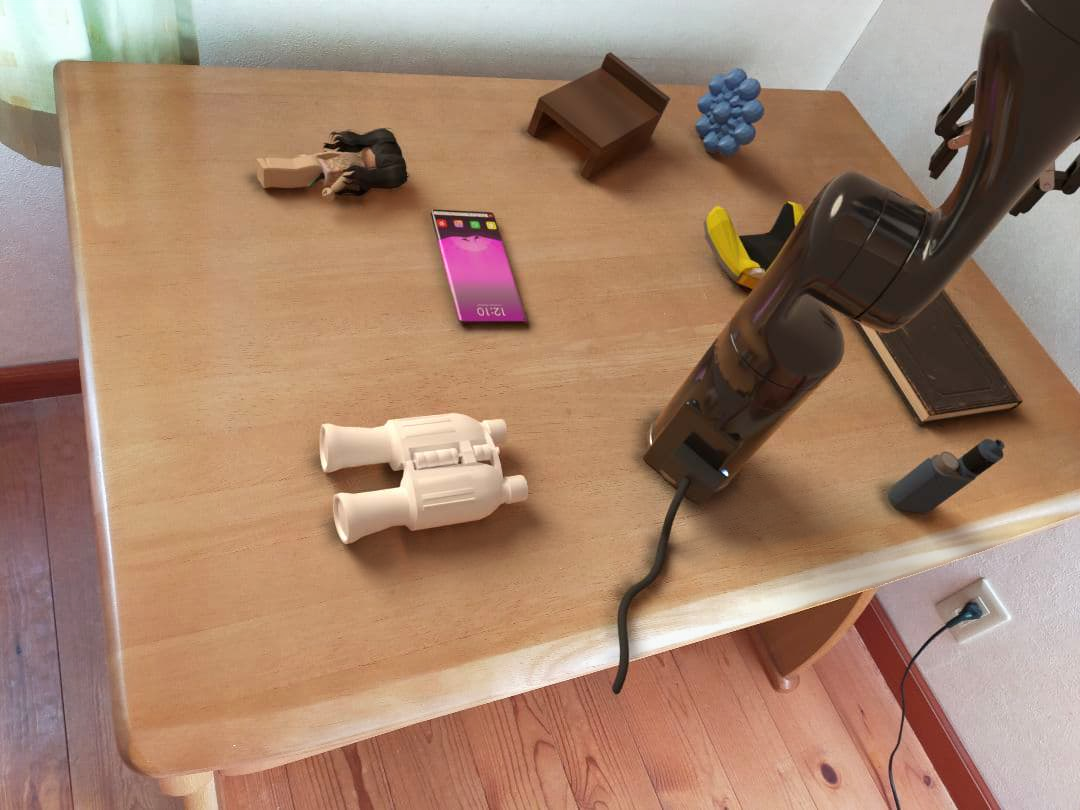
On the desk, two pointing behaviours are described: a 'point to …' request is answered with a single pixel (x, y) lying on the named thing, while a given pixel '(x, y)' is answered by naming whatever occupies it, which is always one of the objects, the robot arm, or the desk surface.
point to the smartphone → (477, 267)
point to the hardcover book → (941, 366)
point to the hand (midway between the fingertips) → (972, 192)
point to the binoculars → (421, 472)
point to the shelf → (603, 112)
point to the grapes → (729, 112)
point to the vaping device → (943, 477)
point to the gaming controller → (749, 243)
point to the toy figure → (341, 165)
